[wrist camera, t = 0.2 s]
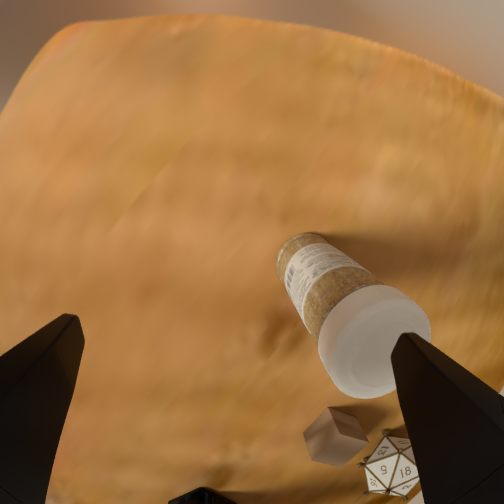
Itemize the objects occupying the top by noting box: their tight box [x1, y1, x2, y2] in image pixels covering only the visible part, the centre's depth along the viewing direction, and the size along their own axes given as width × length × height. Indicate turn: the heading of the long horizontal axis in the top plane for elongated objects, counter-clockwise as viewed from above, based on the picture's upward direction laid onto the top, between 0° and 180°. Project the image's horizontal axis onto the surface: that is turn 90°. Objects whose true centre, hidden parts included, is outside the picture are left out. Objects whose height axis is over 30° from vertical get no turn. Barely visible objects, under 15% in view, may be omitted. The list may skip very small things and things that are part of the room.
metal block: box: [303, 407, 369, 467], centre depth 27 cm, size 4×4×4 cm
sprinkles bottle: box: [276, 233, 431, 399], centre depth 17 cm, size 5×5×14 cm
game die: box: [357, 429, 420, 502], centre depth 27 cm, size 9×8×10 cm
